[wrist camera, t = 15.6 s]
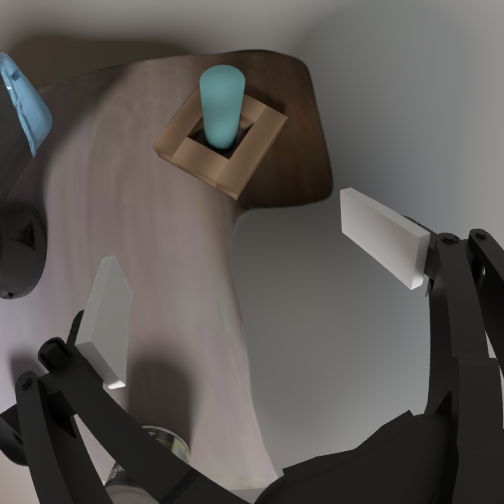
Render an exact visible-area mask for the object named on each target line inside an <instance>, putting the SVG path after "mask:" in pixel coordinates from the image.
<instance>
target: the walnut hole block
mask: <svg viewBox="0 0 504 504" xmlns="http://www.w3.org/2000/svg"><path fill="white" fill-rule="evenodd" d="M287 118H288V117H286V116H285V115H283V114H281V113H279V112H278V111H276V110H274V109H272V108H270V107H269V106H267V105H265V104H263V103H261V102H259V101H257V100H256V99H254V98H252V97H250V96H248V95H246V94H244V93H243V100H242V106H241V112H240V119H239V126H238V132H237V139H236V144H235V147H234V148H233V149H232V150H231V151H230V152H228V153H225V154H218V153H216V152H214V151H212V150H210V149H209V148H208V147H207V145H206V139H205V130H204V121H203V112H202V102H201V92H200V85H199V87H198V88H197V89H196V90H195V91H194V93H193V94H192V95H191V96H190V97H189V99H188V100H187V101H186V102H185V104H184V105H183V106H182V107H181V109H180V110H179V111H178V112H177V114H176V115H175V116H174V117H173V119H172V120H171V121H170V123H169V124H168V125H167V127H166V128H165V129H164V131H163V132H162V133H161V135H160V136H159V138H158V139H157V140H156V142H155V143H154V145H153V147H154V149H155V151H156V153H157V154H158V156H159V157H160V158H162V159H164V160H166V161H167V162H169V163H171V164H173V165H175V166H176V167H178V168H180V169H182V170H184V171H185V172H187V173H189V174H191V175H192V176H194V177H196V178H198V179H199V180H201V181H203V182H205V183H206V184H208V185H210V186H211V187H213V188H215V189H217V190H218V191H220V192H222V193H224V194H225V195H227V196H229V197H230V198H232V199H234V200H235V201H236V200H237V199H238V197H239V195H240V194H241V192H242V190H243V189H244V187H245V186H246V184H247V183H248V181H249V179H250V178H251V176H252V175H253V173H254V171H255V170H256V168H257V167H258V165H259V164H260V162H261V161H262V159H263V157H264V156H265V154H266V153H267V151H268V150H269V148H270V147H271V145H272V144H273V142H274V140H275V139H276V137H277V136H278V134H279V133H280V131H281V130H282V128H283V126H284V124H285V122H286V120H287Z"/></svg>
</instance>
